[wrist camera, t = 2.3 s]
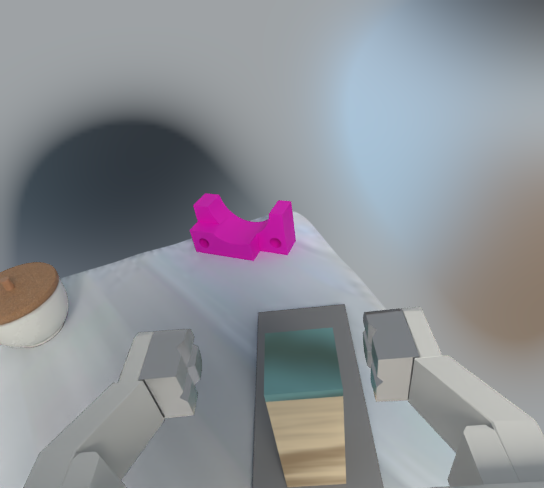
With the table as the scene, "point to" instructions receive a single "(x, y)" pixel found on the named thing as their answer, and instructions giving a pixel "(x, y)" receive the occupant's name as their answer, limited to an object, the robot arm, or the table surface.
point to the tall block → (306, 405)
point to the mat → (358, 436)
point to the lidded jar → (31, 305)
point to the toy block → (241, 230)
